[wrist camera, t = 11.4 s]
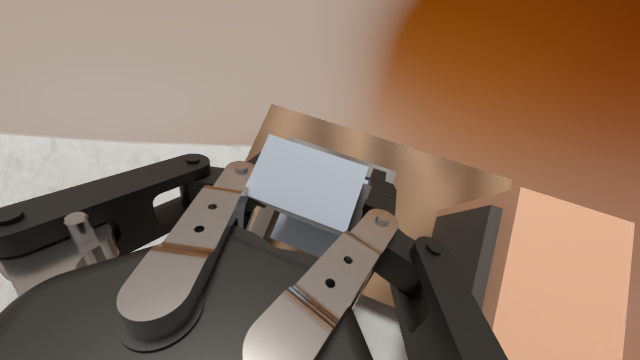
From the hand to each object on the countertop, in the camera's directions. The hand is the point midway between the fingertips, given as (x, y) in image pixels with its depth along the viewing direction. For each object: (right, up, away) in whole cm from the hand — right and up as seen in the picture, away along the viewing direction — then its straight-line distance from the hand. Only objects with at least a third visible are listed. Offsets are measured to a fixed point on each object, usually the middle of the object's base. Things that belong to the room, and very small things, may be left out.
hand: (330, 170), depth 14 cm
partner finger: (+11, -8, +7) cm, 15 cm away
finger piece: (-1, -3, +4) cm, 5 cm away
